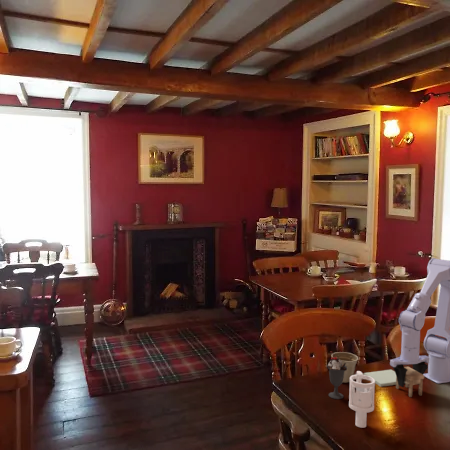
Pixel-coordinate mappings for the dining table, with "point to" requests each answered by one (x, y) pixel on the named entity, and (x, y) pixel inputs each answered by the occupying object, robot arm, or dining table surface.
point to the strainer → (361, 397)
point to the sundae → (336, 375)
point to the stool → (412, 380)
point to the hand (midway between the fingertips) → (408, 384)
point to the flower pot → (347, 363)
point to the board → (383, 377)
